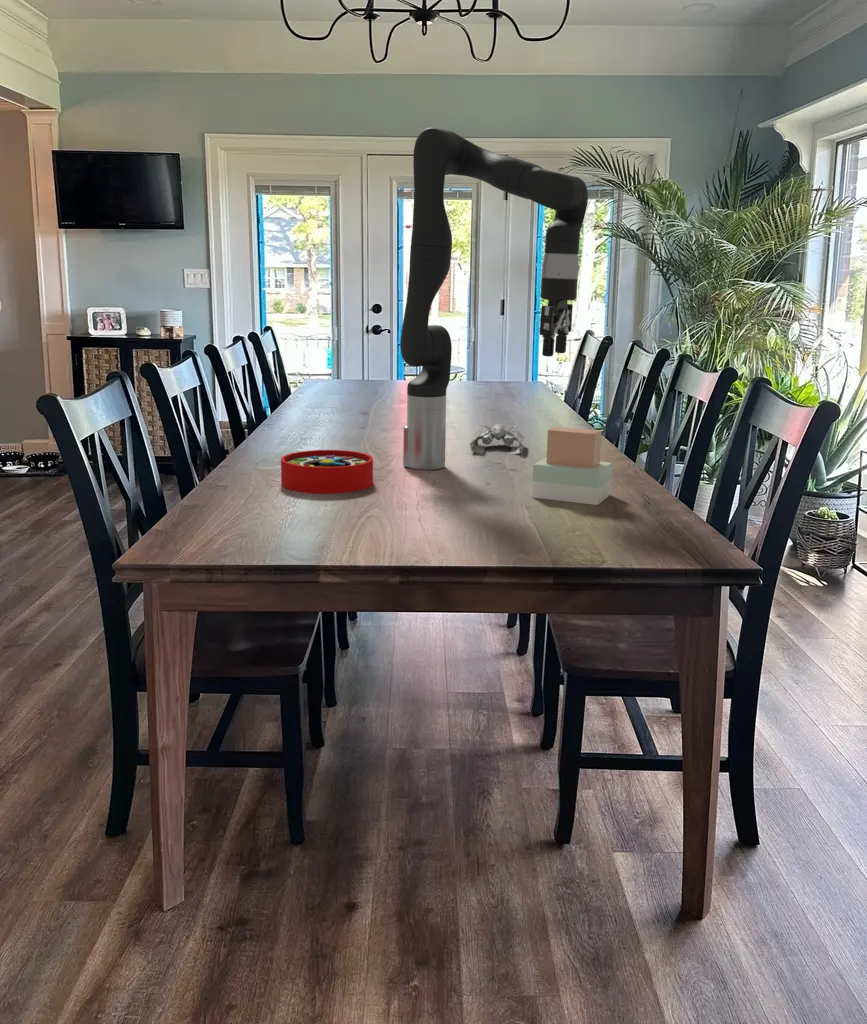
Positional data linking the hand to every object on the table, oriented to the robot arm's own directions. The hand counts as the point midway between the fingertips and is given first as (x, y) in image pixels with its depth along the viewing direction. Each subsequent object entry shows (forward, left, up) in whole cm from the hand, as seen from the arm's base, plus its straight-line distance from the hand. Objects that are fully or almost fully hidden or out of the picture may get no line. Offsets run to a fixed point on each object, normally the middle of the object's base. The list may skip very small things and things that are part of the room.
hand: (554, 354), depth 199 cm
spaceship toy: (-25, +35, -29) cm, 52 cm away
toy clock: (-44, -22, -29) cm, 57 cm away
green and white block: (+8, -8, -29) cm, 31 cm away
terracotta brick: (+8, -8, -22) cm, 24 cm away
